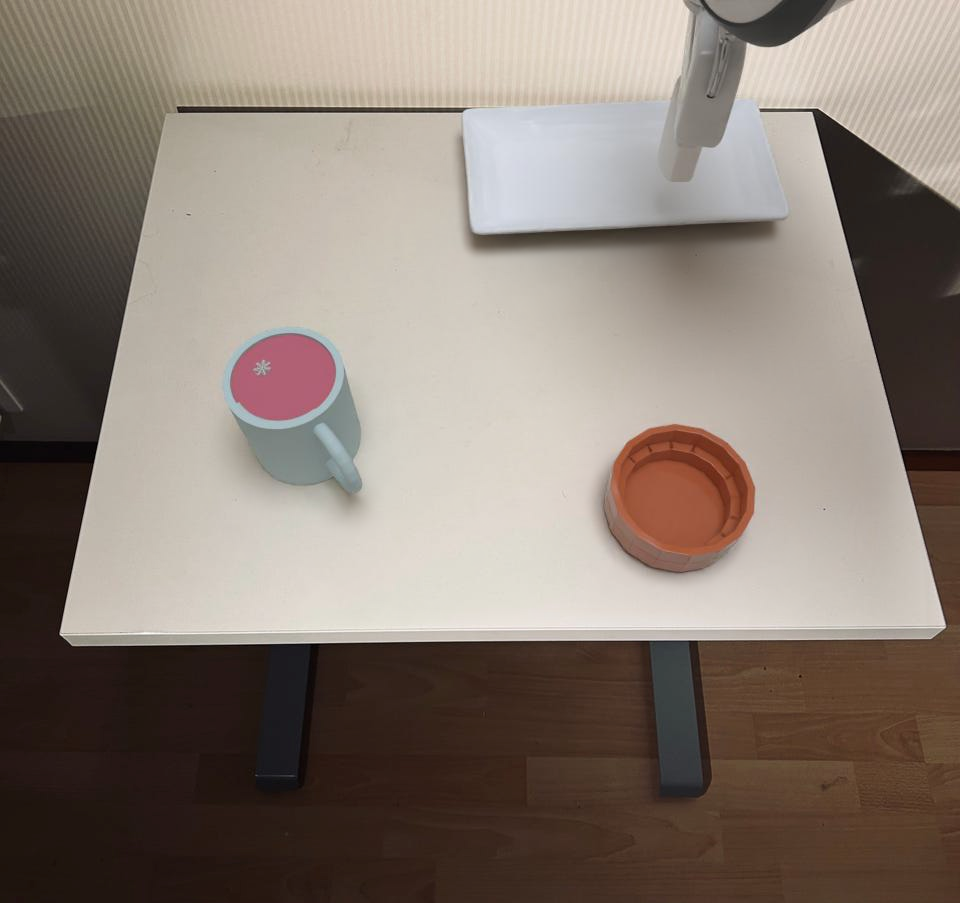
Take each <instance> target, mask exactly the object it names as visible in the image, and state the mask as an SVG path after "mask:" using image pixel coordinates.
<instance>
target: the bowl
mask: <svg viewBox="0 0 960 903" xmlns="http://www.w3.org/2000/svg"><path fill="white" fill-rule="evenodd" d="M605 486H606V487H605V494H604V500H603V509H604V512H605V517H606V520H607V523H608V526H609V530H610V532H611V533H612V534H613V536H614V537H615V538H616V539H617V541H618V542H619V543H620V544H621V546H622V547H623V549H624V550H625V551H626V552H627V553H628V554H630V555H631V556H633V557H634V558H636V559H638V560H639V561H641V562H643V563H644V564H646V565H647V566H650V567H651V568H656V569H661V570H666V571H670V572H677V573H684V572H689V571H695V570H699V569H705V568H708V567H710V566H711V565H712V564H714V563H715V562H717V561H718V560H719V559H721V558H722V557H724V556H725V555H727V554H728V553H729V552H730V550H731V549H732V548H733V546H735V545H736V543H737V542H738V540H740V538H741V537H742V536H743V534H744V532H745V530H746V528H747V527H748V525H749V523H750V521H751V520H752V518H753V516H754V514H755V502H756V501H755V500H756V498H755V497H756V486H755V483H754V480H753V478H752V476H751V473H750V470H749V467H748V465H747V463H746V461H745V460H744V459H743V458H742V456H740V454H739V453H737V451H736V450H735V449H734V448H733V447H732V446H731V445H730V443H729V442H727V441H726V440H724V439H722V438H720V437H719V436H717V435H715V434H713V433H711V432H709V431H707V430H706V429H703V428H701V427H694V426H689V425H683V424H677V423H673V424H667V425H662V426H655V427H650V428H647V429H645V430H644V431H642V432H641V433H639V434H637V435H636V436H634V437H633V438H631V439H629V440H628V441H627V442H626V443H625V445H623V448H622V449H621V450H620V452H619V454H618V455H617V457H616V458H615V460H614V461H613V464H612V467H611V469H610V473H609V475H608V478H607V481H606V485H605Z"/></svg>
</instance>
